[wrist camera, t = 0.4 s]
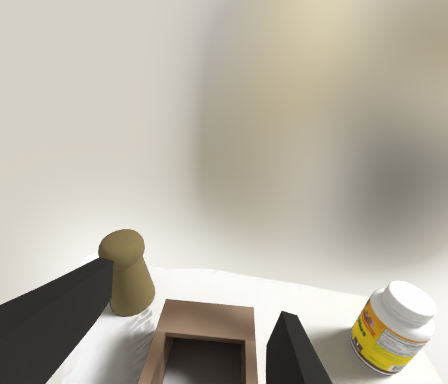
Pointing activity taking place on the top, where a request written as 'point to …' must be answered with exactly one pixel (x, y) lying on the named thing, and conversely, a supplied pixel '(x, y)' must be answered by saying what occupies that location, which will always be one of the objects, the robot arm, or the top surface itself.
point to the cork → (128, 272)
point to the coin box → (201, 334)
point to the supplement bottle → (393, 327)
